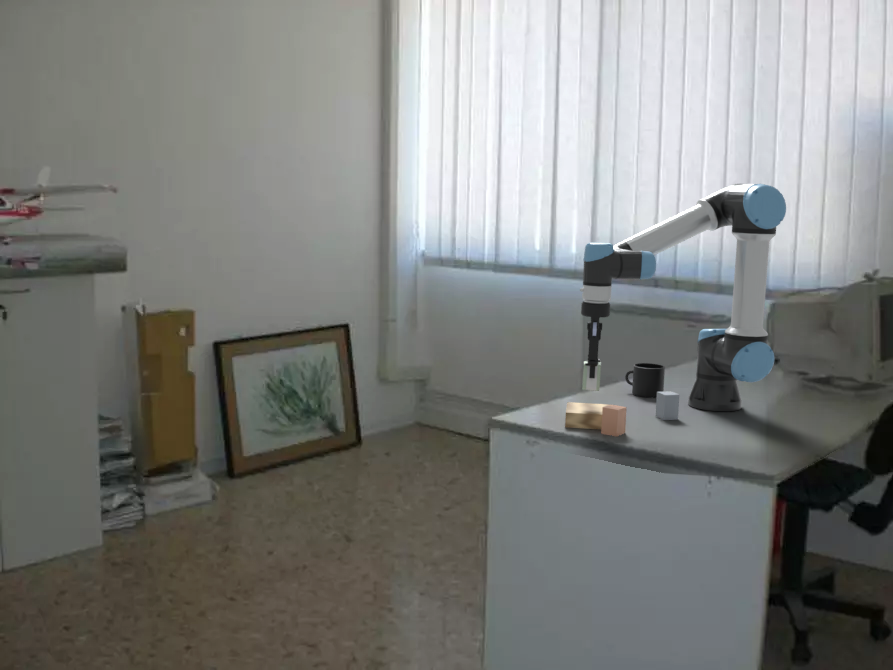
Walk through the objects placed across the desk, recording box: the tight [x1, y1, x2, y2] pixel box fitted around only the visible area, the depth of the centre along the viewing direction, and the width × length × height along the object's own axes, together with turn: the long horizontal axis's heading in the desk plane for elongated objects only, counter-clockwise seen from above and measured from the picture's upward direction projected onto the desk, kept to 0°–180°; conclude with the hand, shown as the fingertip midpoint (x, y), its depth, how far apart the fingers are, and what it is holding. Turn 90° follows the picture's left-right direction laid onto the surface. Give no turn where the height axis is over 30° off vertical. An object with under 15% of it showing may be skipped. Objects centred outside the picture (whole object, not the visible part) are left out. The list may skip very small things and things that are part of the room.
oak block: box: [564, 401, 610, 430], centre depth 276 cm, size 13×13×4 cm
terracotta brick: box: [600, 404, 627, 437], centre depth 265 cm, size 4×4×7 cm
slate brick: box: [655, 390, 680, 421], centre depth 284 cm, size 4×4×7 cm
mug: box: [624, 362, 666, 399], centre depth 315 cm, size 9×12×9 cm
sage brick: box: [581, 360, 602, 392], centre depth 274 cm, size 4×4×7 cm
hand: (591, 387), depth 275 cm, fingers closed on sage brick, 4 cm apart
